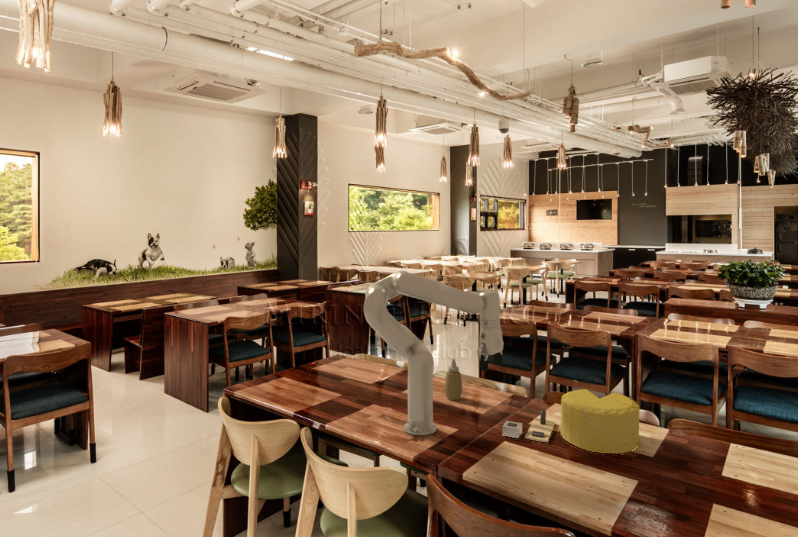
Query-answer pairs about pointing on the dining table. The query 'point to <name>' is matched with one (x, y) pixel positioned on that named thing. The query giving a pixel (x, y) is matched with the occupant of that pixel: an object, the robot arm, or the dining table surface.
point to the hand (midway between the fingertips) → (491, 367)
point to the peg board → (540, 428)
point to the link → (512, 429)
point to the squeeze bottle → (453, 382)
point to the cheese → (600, 422)
